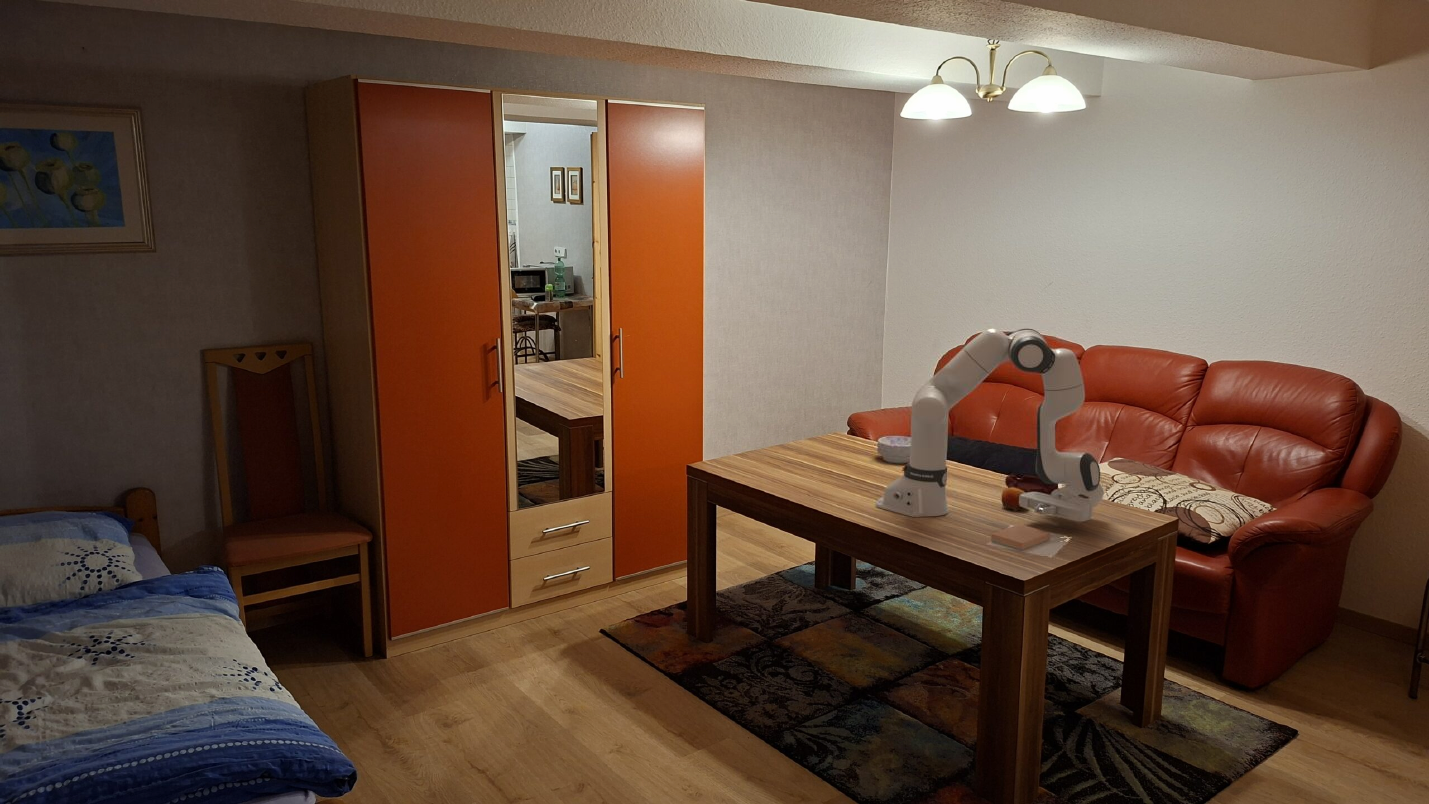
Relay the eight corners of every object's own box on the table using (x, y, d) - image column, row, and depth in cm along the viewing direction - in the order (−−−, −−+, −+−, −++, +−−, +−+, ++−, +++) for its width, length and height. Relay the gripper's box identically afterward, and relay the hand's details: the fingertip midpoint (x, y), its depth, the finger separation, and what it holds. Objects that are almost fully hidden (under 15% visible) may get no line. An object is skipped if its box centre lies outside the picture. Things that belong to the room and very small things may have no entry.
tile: (1049, 540, 271) (1021, 551, 262) (1019, 531, 279) (990, 541, 270) (1050, 532, 271) (1022, 543, 262) (1019, 523, 278) (991, 533, 269)
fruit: (995, 506, 298) (1001, 482, 300) (1001, 513, 305) (1006, 490, 307) (1021, 511, 294) (1026, 486, 296) (1026, 518, 300) (1032, 494, 302)
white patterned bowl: (879, 465, 352) (880, 444, 350) (874, 455, 367) (875, 435, 365) (921, 466, 351) (922, 445, 350) (914, 455, 366) (915, 435, 364)
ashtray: (1061, 506, 305) (1062, 491, 304) (1007, 502, 309) (1009, 487, 308) (1054, 490, 322) (1055, 476, 321) (1003, 487, 326) (1004, 473, 325)
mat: (986, 545, 268) (986, 544, 268) (1011, 526, 284) (1011, 524, 284) (1051, 559, 257) (1051, 557, 257) (1073, 538, 274) (1073, 536, 274)
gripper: (1034, 484, 290) (1008, 492, 281) (1097, 499, 274) (1071, 508, 266) (1033, 504, 291) (1006, 513, 282) (1096, 520, 275) (1070, 530, 267)
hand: (1038, 511), depth 274 cm, fingers closed
